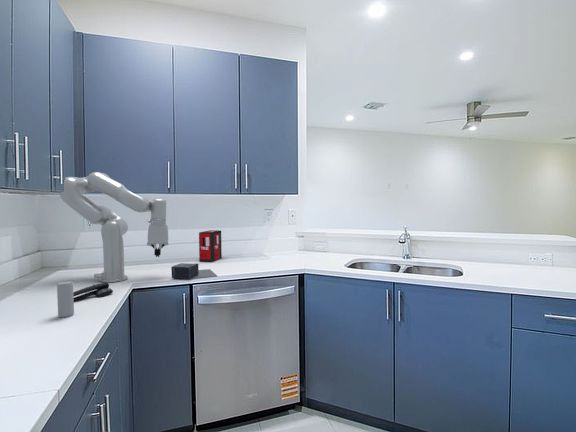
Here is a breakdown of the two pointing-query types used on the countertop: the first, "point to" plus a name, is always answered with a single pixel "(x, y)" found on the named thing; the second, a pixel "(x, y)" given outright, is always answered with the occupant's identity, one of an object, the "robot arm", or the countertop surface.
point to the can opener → (99, 291)
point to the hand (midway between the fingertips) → (157, 256)
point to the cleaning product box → (210, 246)
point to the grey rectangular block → (65, 299)
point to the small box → (184, 270)
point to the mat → (203, 274)
